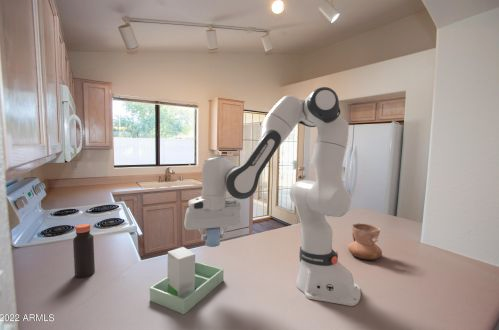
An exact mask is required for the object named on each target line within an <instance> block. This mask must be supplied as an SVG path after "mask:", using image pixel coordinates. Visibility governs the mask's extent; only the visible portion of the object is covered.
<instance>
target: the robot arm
mask: <svg viewBox="0 0 499 330" xmlns="http://www.w3.org/2000/svg"><path fill="white" fill-rule="evenodd" d="M340 115H341V108H340V101H339V97H338V95H337V92H336V91H334V90H333V89H332V88H330V87H326V86H322V87H318V88H316V89H314V90H313V91H311V93H309V95H308V96H307V97H305V99H300V98H298V97H296V96H294V95H291V94H287V95H285V96H283V97H281V99H280V100H278V102H276V104H274V105H273V107H272V108H271V109H270V111H269V112H268V113H267V114H266V116H265V117H264V118H263V120H262V122H261V124H260V126H259V127H258V134H259V137H258V141H257V143H256V146H255V147H254V149H253V151H251V153H250V154H249V156H248V157H247V159H246V160H245V162H244V163H243V164H242V165H241V166H240V165H238V164H235V163H233V162H232V161H230V160H228V159H227V158H225V156H215V157H209V158H207V159H205V160H204V161H203V163H202V168H201V185H202V186H201V187H202V189H201V192H200V193H201V195H200V196H197V197H195V198H191V199H189V200H188V203H187V204H188V205H187V206H188V207H187V208H186V211H185V215H184V223H183V226H184V228H185V230H187V231H192V230H198V233H200V235H201V238H200V239H201V241H203V242H204V241H206V233H205V234H204V233H203V232H204V229H205V230H206V228H216V227H220V228H222V230H221V231H220V240H222V239H224V238H225V234H226V232H227V230H228V227H235V226H236V227H237V226H239V225H240V224H241V207H242V205H241V203H240V202H239V201H238V200H245V199H247V198H248V199H249V198H250V197H251V196H253V195H254V194H255V192H256V190H257V187H258V184H259V180H260V177H261V174H262V173H263V171H264V169H265V168H266V167H267V164H268V163H269V162H270V160H271V159H272V157H273V155H274V154H275V152H276V151H277V150H278V149H279V148H280V146H281V145H282V144H283V143H284V141H286V140H287V138H288V137H290V134H291V133H292V132H293V130H294V128H295V127H296V126H297V125H299V124H300V125H303V126H306V127H308V128H315V127H316V129H317V136H316V138H315V139H316V140H315V144H314V147H313V151H312V156H311V159H310V165H311V167H312V168H313V169H314V172H315V180H310V179H309V180H308V179H303V180H298V181H295V182H294V183H292V185H291V187H290V189H289V198H290V200H291V202H292V203H293V204H294V206H295V209H296V211H297V215H298V217H299V218H298V219H299V224H300V230H301V232H300V234H301V235H300V237H301V241H300V243H301V245H300V247H299V262H300V263H299V270H298V275H297V278H296V281H295V285H296V287H297V288H298V289H299V290H300V291H301V292H302V293H303V294H304V295H305V297H306V298H307V299H309V300H315V301H320V302H321V301H322V302H326V303H333V304H339V305H344V306H349V307H353V306H356V305H357V304H359V302H360V300H361V296H362V295H361V288H360V286H359V285H358V284H357V282H355V281H354V277H353V275H352V272H351V271H350V270H349V269H348V268H347V267H346V266H344V265H343V264H342V263H341V262H340V261H339V254H338V251H334V249H333V234H334V233H333V229H332V227H331V225H330V223H329V222H328V221H327V219H326V217H333V218H342V217H343V216H345V215H346V214H347V213H348V211H349V210H350V209H351V205H352V199H351V194H350V192H348V190H347V189H346V187H345V185H344V182H343V174H342V173H343V171H342V170H343V164H344V158H345V155H346V150H347V146H348V142H349V141H348V140H349V131H350V130H349V123H348V121H347V120H346V119H344V118H342V117H340ZM227 193H229V194H230V196H231V197H233V198H235V199H238V200H227V198H226V197H227Z"/></svg>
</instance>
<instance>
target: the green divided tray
mask: <svg viewBox="0 0 499 330" xmlns="http://www.w3.org/2000/svg"><path fill="white" fill-rule="evenodd" d="M167 280H168V276H166V277H165V278H162V279H161V280H160V281H158V282H156V283H154V284H153V285H152V286H150V287H149V301H150V302H152V303H155V304H158V305H160V306H162V307H166V308H167V309H170V310H172V311H174V312H178V313H180V314H182V315H185V314H187V313H188V312H189V311H190V310H191V309H193V307H195V306H196V305H197V304H198V303H199V302H200V301H202V299H204V298H205V297H206V296H207V295H208V294H210V293H211V292H212V291H213V290H214V289H215V288H216V287H218V286H219V285H220V284H221V283H222V282H224V268H221V267H217V266H214V265H210V264H207V263H206V264H205V263H202V262H198V261H196V260H195V288H196V289H195V290H194V291H193V292H192V293H191V294H189V295H188V296H187V297H186V298H184V299H183V298H180V297H177V296H175V295H172V294H169V293H167Z"/></svg>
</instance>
